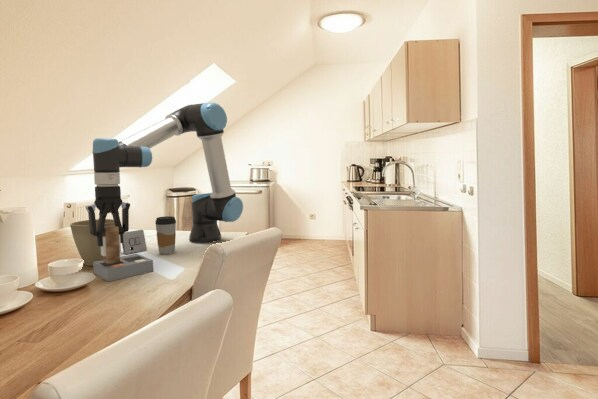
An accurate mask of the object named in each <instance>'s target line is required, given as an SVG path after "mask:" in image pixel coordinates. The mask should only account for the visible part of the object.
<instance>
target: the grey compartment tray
mask: <svg viewBox="0 0 598 399" xmlns="http://www.w3.org/2000/svg"><path fill="white" fill-rule="evenodd" d="M92 269H93V274H94V275H96V276H98V277H99V278H100V279H101V278H102V279H103V280H104V281H106V282H113V281H116V280H121V279H126V278H130V277H134V276H138V275H142V274H147V273H151V272H153V271H154V260H153V259H151V258H148V257H146V256H144V255H140V254H138V253H131V254H126V255H122V256H120V262H114V263H109V264H107V263H105V262H103V260H101V261H95V262H93V266H92Z"/></svg>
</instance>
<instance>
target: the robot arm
mask: <svg viewBox="0 0 598 399" xmlns="http://www.w3.org/2000/svg"><path fill="white" fill-rule="evenodd" d="M227 123H228V117H227V113H226V111H225V109H224V108H223V107H222V106H221V105H220V104H218V103H216V102H203V103H195V104H187V105H185V106H183V107H181V108H179V109H177V110H175V111H173V112H171V113H169V114H167V115H165V117H164V119H163V120H160V121H159V122H156V123H155V124H152V125H151V126H148V127H146V128H144V129H143V130H141V131H140V130H139V132H137V133H134V134H132V135H130V136H128V137H127V138H124V139H122V140H120V141H119V140H118V139H117V138H108V137H107V138H105V137H99V138H98V137H97V138H94V139H93V140H92V151H91V152H92V153H91V154H92V160H93V161H92V162H93V175H94V178H93V181H94V185H95V187H94V196H95V199H94V202H93V203H92V204H90V205H86V206H85V209H86V211H87V213H88V220H89V226H90V234H91V235H93V236H97V245H98V246H99V247H100V246H101V255H102V256H106V238H105V236H103V232H104V226H105V220H106V219H107V216H108V214H110V213H111V216H112V219H113V220H114V223H115V226H118V229H119V249H120V254H122V243H123V234H124V232H129V228H130V226H129V219H130V218H129V215H130V214H129V211H130V207H131V203H130V202H125V201H123V199H122V197H121V196H122V195H121V193H122V192H121V186H120V184H121V172H120V168H141V169H142V168H147V167H149V166H150V165H151V164H152V162H153V153H152V150H151V149H152V148H153V147H155V146H157V145H159V144H161V143H163V142H165V141H166V140H168V139H170V138H172V137H173V136H181V135H183V134H185V133H191V132H196V137H197V138H198V139H199V140H200V141H201V143H202V144H201V145H202V148H203V153H204V158H205V163H206V167H207V172H208V176H209V182H210V186H211V191H212V192H208V193H198V194H193V195H192V197H191V201H192V202H191V214H192V226H191V230H190V233H189V236H188V237H189V242H191V243H195V244H207V243H209V242H210V243H214V242H213V241H216V242H218V241H217V240H219V241H221V240H222V234H221V231H220V227H219V225H218V221H220V222H225V223H228V222H229V223H234V222H236V221H237V220H239V218H241V215H242V213H243V212H244V204H243V201H242V199H241V198H240V197H237V196H236V194H237V193H236V190H234V189H233V188H232V186H231V182H230V181H231V180H230V177H229V171H228V165H227V160H226V155H225V149H224V145H223V141H222V140H223V139H222V136H223V135H224V134H225V132H224V129H225V128H226V127H227ZM120 207H121V208H122V209H121V214H122V215H121V216H120V213H119V212H120V211H119V209H120ZM96 209H97V210H99V213H98V216H99V217H98V219H99V221H98V227H97V229H96ZM220 239H221V240H220Z"/></svg>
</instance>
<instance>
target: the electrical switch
mask: <svg viewBox="0 0 598 399" xmlns="http://www.w3.org/2000/svg"><path fill="white" fill-rule="evenodd" d="M121 248H122V252H123V254H124V255H132V254H137V253H140V252H145V251H147V249H148V248H147V243H146V238H145V232H144V230H143V229H138V230H137V229H136V230H130V231H129V230H128V231H127V232H124V234H123V243H121Z"/></svg>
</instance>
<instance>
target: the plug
mask: <svg viewBox="0 0 598 399" xmlns="http://www.w3.org/2000/svg"><path fill="white" fill-rule="evenodd" d="M103 236H105V238H106V256H103V262H105V263H107V264H109V263H114V262H120V257H121V253H120V249H119V229H118V226H114V225H112V226H104V232H103Z"/></svg>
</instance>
